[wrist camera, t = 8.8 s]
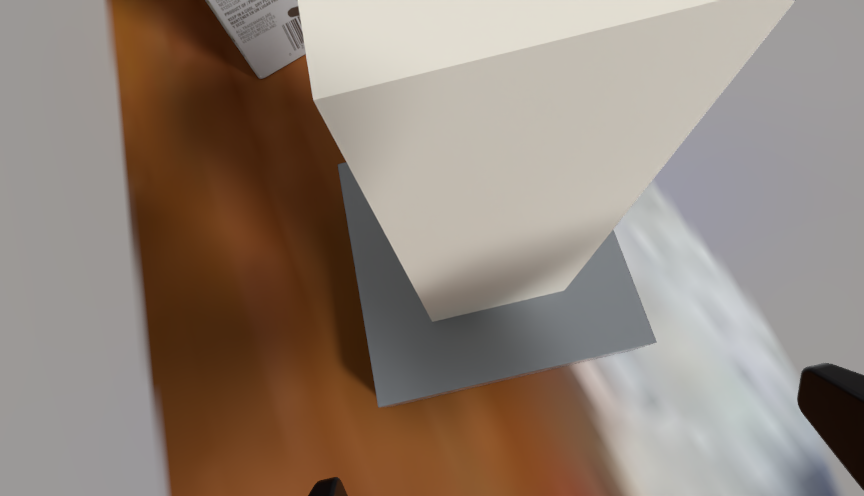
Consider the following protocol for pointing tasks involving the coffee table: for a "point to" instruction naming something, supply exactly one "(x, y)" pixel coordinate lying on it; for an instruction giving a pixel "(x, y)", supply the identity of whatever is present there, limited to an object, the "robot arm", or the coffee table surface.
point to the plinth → (483, 320)
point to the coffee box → (262, 31)
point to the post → (515, 123)
